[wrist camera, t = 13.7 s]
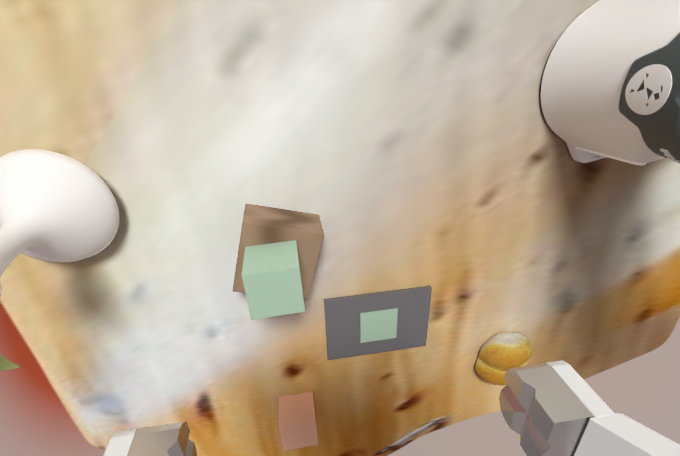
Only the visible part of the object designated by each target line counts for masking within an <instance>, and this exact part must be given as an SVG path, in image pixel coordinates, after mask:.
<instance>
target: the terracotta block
mask: <svg viewBox="0 0 680 456" xmlns="http://www.w3.org/2000/svg"><path fill="white" fill-rule="evenodd" d="M278 424H279V433H280V439H281V444H282V450H283V451H287V450H293V449H298V448H304V447H309V446H314V445H319V444H318V435H317V426H316V417H315V409H314V400H313V391H311V392H305V393H299V394H293V395H286V396H280V397H278Z"/></svg>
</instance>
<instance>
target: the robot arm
mask: <svg viewBox="0 0 680 456" xmlns="http://www.w3.org/2000/svg"><path fill="white" fill-rule="evenodd" d="M541 106H542V111H543V114H544V117H545V120H546V122H547V124H548V125H549V127H550V128H551V129H552V131H553V132H554V133H555V134H557V135H558V136H559V137H560V138H562V139H563V140H564V141H565V142H566V143H567V146H568V149H569V152H570V154H571V156H572V158H573V159H574V160H575V161H577V162H581V163H588V162H592V161H595V160H599V159H602V158H606V157H608V158H612V159H616V160H619V161H623V162H627V163H630V164H634V165H646V164H647V163H649V162H655V161H658V160H661V159H663V158H668V159H670V160H673V161H674V162H677V163H680V0H599V1H598V2H596V3H595V4H594V5H592V6H591V7H590V8H588V9H587V10H585V11H584V12H583V13H582V14H581V15H579V16H578V17H577V18H576V19H575V20H574V21H573V22H572V23H571V24H570V26H569V27H568V28H567V29H566V30H565V32H564V33H563V34H562V36H561V37H560V39H559V40H558V42H557V43H556V45H555V47H554V49H553V50H552V52H551V55H550V57H549V59H548V62H547V64H546V67H545V70H544V74H543V78H542V84H541ZM504 380H505V381H506V383H507V385H506V386H505V387H504V388H503V389H502V390H501V393H500V398H499V401H500V407H501V411H502V414H503V416H504V418H505V420H506V422H507V424H508V425H509V427H510V428H511V429H512V430H514V431H515V432H517V433H518V434H520V435H521V442H520V445H521V447H522V448H523V450H524V451H525V453H526V455H527V456H680V444H678V443H676V442H674V441H672V440H670V439H668V438H667V437H665V436H662V435H661V434H659V433H657V432H655V431H653V430H652V429H650V428H648V427H646V426H644V425H642V424H640V423H639V422H637V421H635V420H633V419H631V418H629V417H627V416H626V415H624V414H621V413H614V412H613V411H612V410H611V409H610V408H609V407H608V406H607V404H606V403H605V402H604V401H603V400H602V399H601V398H600V397H599V396H598V395H597V394H596V393H595V392H594V391H593V389H592V388H591V387H590V386H589V385H588V384H587V383H586V382H585V381H584V380H583V379H582V378H581V376H580V375H579V374H578V373H577V372H576V371H575V370H574V369H573V368H572V367H571V366H570V365H569V364H568V363H567V362H565V361H563V360H560V361H554V362H548V363H539V364H533V365H527V366H522V367H516V368H511V369H508V370H507V371H506V373H505V376H504ZM189 433H190V429H189V427H188V424H187V422H181V423H173V424H166V425H159V426H152V427H144V428H137V429H130V430H124V431H118V432H115V434H114V435H113V436H112V438H111V439H110V441H109V443H108V445H107V448H106V450H105V453H104V455H103V456H197V452H196V447H195V444H194V442H192V441H191V440H189V439H188V438H189Z"/></svg>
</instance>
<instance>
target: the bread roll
mask: <svg viewBox="0 0 680 456" xmlns="http://www.w3.org/2000/svg"><path fill="white" fill-rule="evenodd" d="M531 355H532V346H531V343H530V341H529V340H528V338H527V337H525V336H524V335H522V334H520V333H515V332H512V333H511V332H505V333H500V334H496V335H494V336H492V337H491V338H490V339H489V340H487V341H486V342H485V343H484V344H483V346H482V347H481V349H480V352H479V355H478V358H477V361H476V365H475V369H476V372H477V373H478V375H479V376H480V377H481V378H482V379H483V380H485V381H486V382H488V383H491V384H495V385H507V383H506V381H505V380H504V376H505V373H506V371H507V370H508V369H511V368H516V367H522V366H527V365H528V362H529V358H530V357H531Z"/></svg>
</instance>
